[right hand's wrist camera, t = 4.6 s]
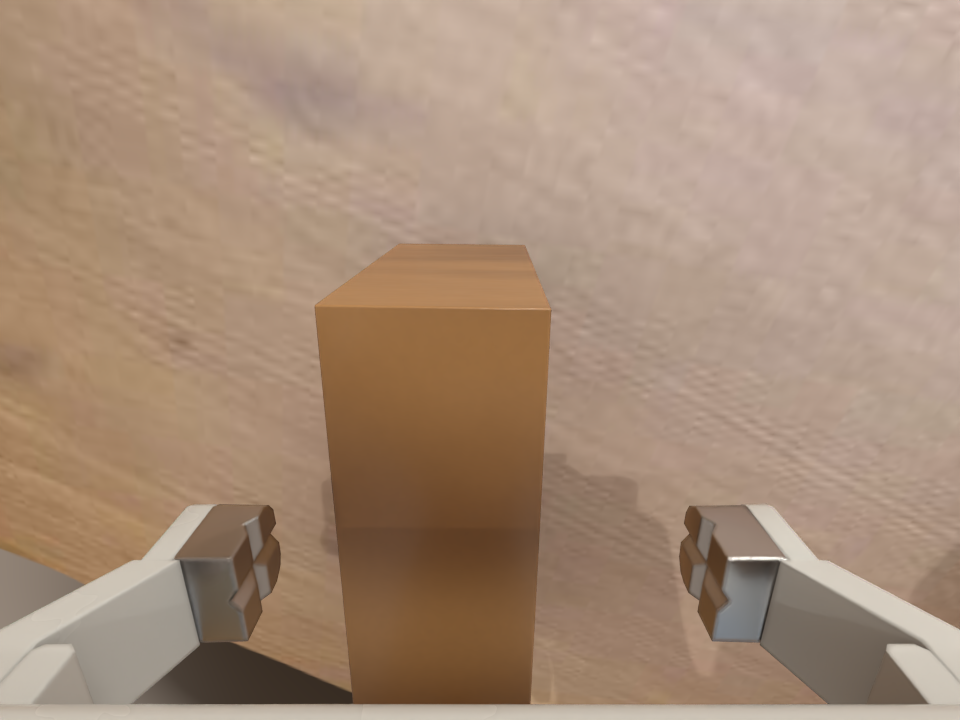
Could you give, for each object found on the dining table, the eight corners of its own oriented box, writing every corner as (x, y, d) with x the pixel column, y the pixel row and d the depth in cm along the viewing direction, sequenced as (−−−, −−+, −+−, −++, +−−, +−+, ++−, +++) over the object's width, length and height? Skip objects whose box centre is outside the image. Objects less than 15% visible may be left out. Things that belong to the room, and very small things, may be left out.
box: (398, 243, 25) (313, 304, 13) (525, 244, 25) (551, 308, 13) (416, 651, 33) (372, 909, 22) (510, 654, 33) (519, 915, 21)
